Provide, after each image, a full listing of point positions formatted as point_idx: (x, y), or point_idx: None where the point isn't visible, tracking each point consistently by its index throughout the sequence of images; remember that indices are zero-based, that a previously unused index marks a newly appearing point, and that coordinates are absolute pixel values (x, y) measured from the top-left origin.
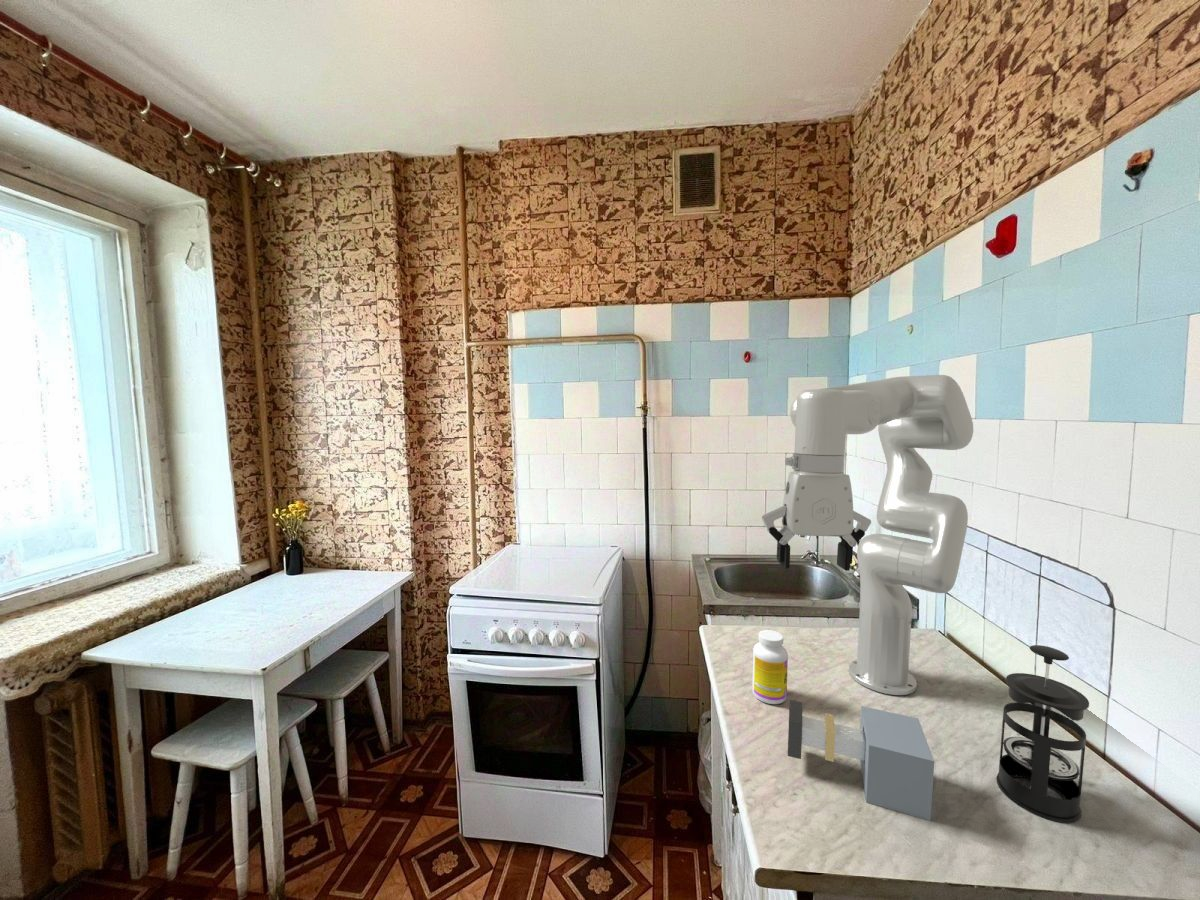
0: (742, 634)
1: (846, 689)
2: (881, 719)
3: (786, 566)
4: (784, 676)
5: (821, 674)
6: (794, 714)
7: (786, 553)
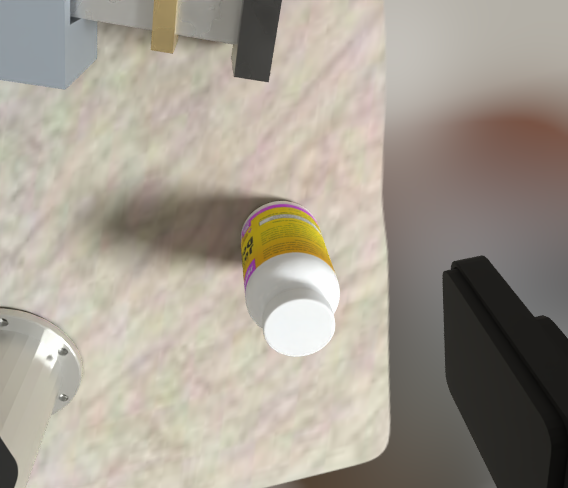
0: (312, 445)
1: (96, 303)
2: (12, 29)
3: (479, 264)
4: (253, 246)
5: (147, 344)
6: (265, 5)
7: (553, 345)
